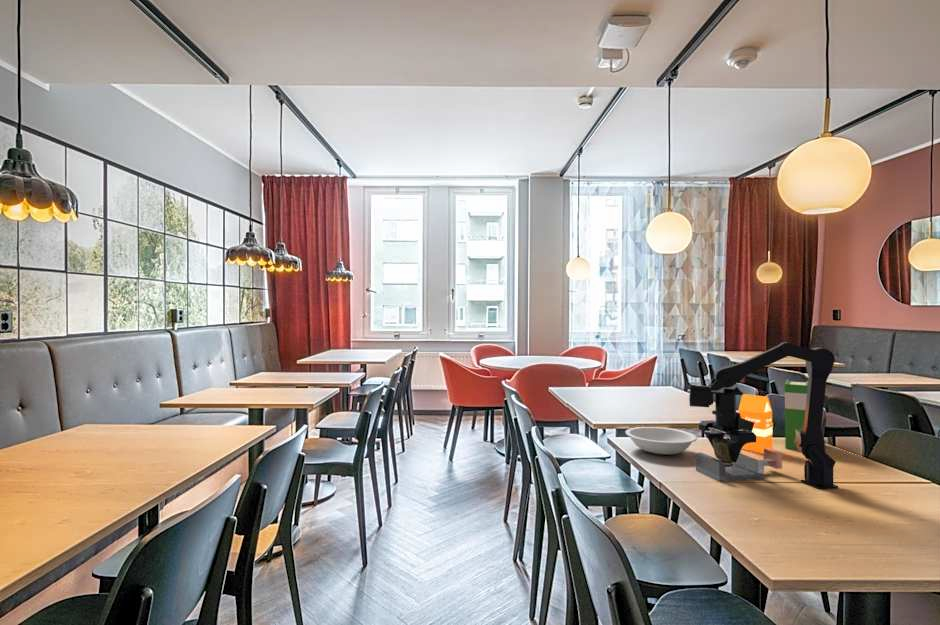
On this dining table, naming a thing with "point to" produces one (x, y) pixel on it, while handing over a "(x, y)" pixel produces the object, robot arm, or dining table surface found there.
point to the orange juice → (757, 420)
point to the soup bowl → (661, 439)
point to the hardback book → (794, 410)
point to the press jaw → (760, 460)
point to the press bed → (734, 474)
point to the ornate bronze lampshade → (722, 451)
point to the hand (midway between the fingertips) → (726, 459)
